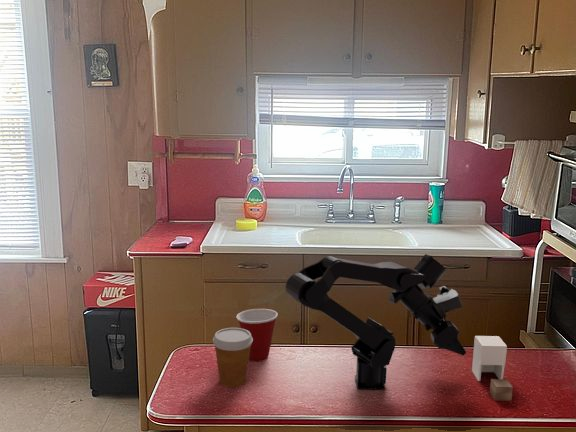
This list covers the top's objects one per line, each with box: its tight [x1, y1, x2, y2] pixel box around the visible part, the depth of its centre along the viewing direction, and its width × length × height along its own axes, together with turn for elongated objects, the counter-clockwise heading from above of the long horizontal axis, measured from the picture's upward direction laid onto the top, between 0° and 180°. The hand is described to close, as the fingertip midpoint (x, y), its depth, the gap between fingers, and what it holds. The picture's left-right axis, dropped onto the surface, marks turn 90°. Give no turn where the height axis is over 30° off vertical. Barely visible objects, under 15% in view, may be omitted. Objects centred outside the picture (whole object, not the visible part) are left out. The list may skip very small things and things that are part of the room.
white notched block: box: [471, 335, 508, 382], centre depth 154 cm, size 6×6×10 cm
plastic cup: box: [235, 308, 278, 362], centre depth 163 cm, size 11×11×12 cm
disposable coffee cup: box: [212, 327, 253, 388], centre depth 149 cm, size 10×10×12 cm
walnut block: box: [489, 378, 514, 402], centre depth 145 cm, size 4×4×4 cm
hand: (459, 346), depth 153 cm, fingers open, 9 cm apart
